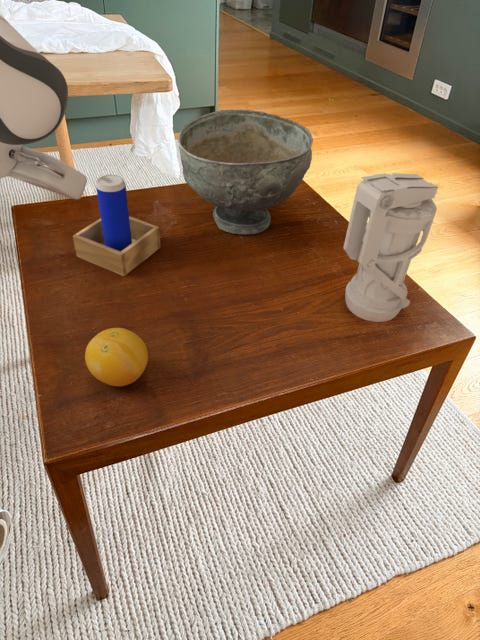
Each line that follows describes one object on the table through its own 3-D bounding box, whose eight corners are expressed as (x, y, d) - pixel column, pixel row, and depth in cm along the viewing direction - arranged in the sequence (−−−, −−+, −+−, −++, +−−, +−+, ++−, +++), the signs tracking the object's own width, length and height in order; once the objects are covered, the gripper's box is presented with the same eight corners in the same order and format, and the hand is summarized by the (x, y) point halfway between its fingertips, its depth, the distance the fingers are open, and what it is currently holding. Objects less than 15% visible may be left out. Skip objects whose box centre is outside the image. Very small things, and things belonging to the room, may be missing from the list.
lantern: (376, 281, 95) (412, 156, 79) (413, 314, 89) (461, 184, 72) (320, 298, 91) (347, 169, 74) (355, 334, 84) (393, 200, 67)
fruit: (80, 389, 72) (70, 350, 67) (103, 351, 78) (96, 312, 73) (137, 401, 71) (132, 363, 65) (157, 362, 77) (154, 324, 71)
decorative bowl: (296, 192, 120) (305, 107, 106) (311, 254, 101) (323, 161, 88) (187, 192, 119) (182, 107, 106) (181, 254, 101) (173, 161, 87)
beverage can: (138, 249, 99) (131, 179, 89) (120, 261, 96) (110, 189, 86) (118, 240, 101) (109, 171, 91) (100, 252, 97) (89, 181, 87)
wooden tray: (124, 276, 93) (121, 254, 89) (76, 256, 96) (72, 235, 93) (160, 247, 100) (159, 226, 97) (115, 230, 104) (112, 210, 101)
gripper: (54, 140, 61) (115, 183, 74) (-58, 106, 68) (16, 151, 81) (35, 187, 61) (100, 222, 74) (-75, 148, 68) (2, 187, 81)
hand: (55, 185), depth 77 cm, fingers open, 8 cm apart
